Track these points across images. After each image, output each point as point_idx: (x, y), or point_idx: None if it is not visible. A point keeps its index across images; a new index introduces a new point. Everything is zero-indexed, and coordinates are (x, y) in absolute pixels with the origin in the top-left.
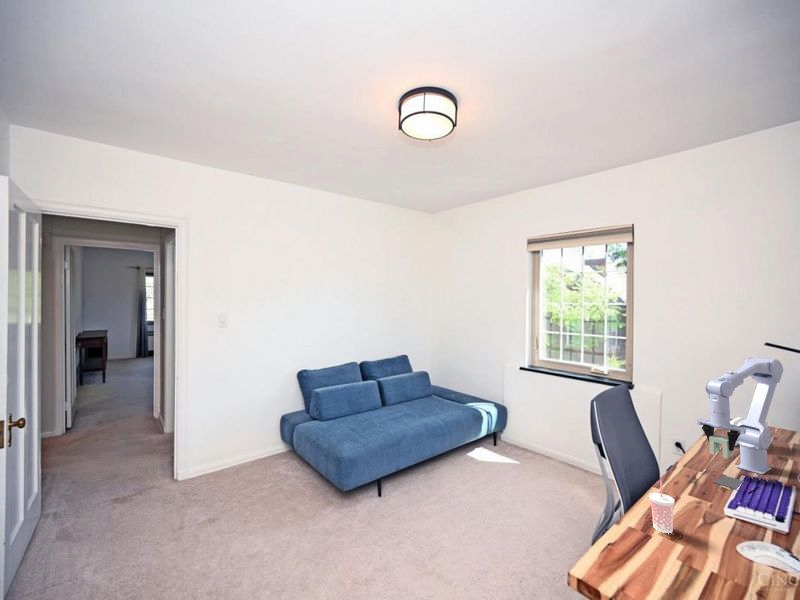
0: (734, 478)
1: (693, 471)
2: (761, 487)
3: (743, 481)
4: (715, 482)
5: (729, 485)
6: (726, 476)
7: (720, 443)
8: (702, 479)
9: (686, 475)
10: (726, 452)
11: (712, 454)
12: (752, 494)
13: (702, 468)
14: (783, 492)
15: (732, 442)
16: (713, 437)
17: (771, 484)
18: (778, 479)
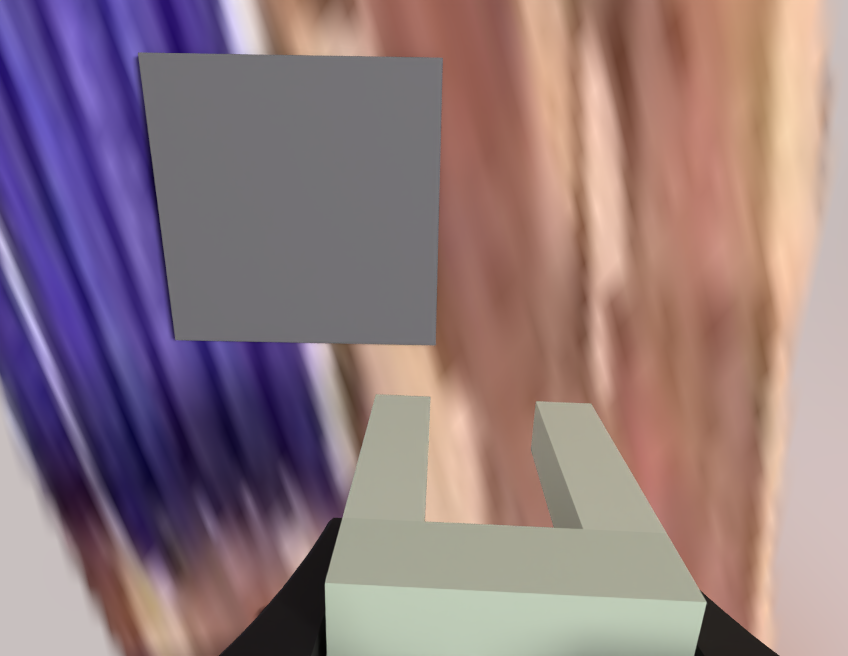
0: (353, 339)
1: (661, 232)
2: (161, 327)
3: (282, 327)
4: (421, 64)
5: (311, 101)
6: (413, 333)
7: (459, 524)
8: (539, 68)
9: (686, 40)
10: (374, 435)
11: (555, 404)
12: (121, 72)
13: (621, 385)
14: (32, 356)
15: (253, 621)
16: (620, 626)
17: (153, 459)
18: (174, 598)
